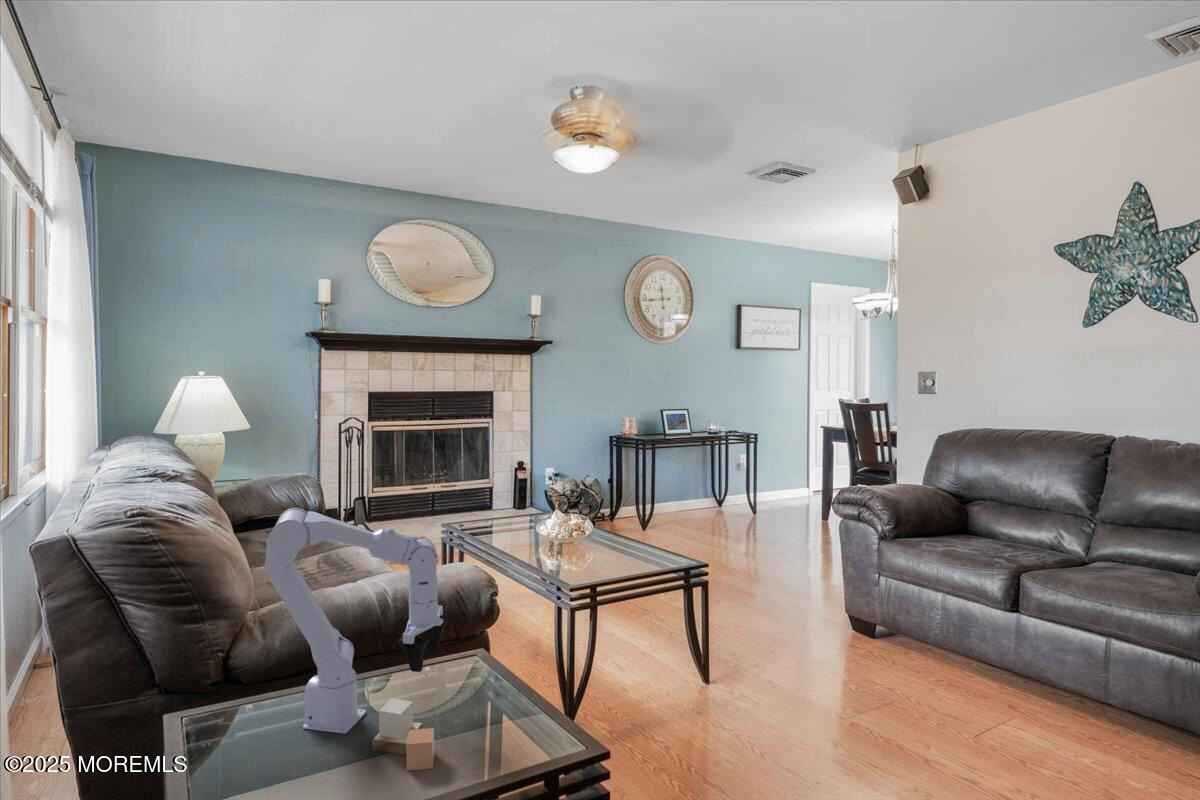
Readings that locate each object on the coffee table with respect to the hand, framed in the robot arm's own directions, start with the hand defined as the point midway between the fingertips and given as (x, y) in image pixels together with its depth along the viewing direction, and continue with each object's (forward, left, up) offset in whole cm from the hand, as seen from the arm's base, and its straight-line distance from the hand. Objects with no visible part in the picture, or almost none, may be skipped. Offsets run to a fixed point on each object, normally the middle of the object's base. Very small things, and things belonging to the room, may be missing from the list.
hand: (424, 661), depth 145 cm
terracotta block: (+7, -17, -10) cm, 21 cm away
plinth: (0, -12, -10) cm, 16 cm away
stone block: (0, -12, -8) cm, 14 cm away
